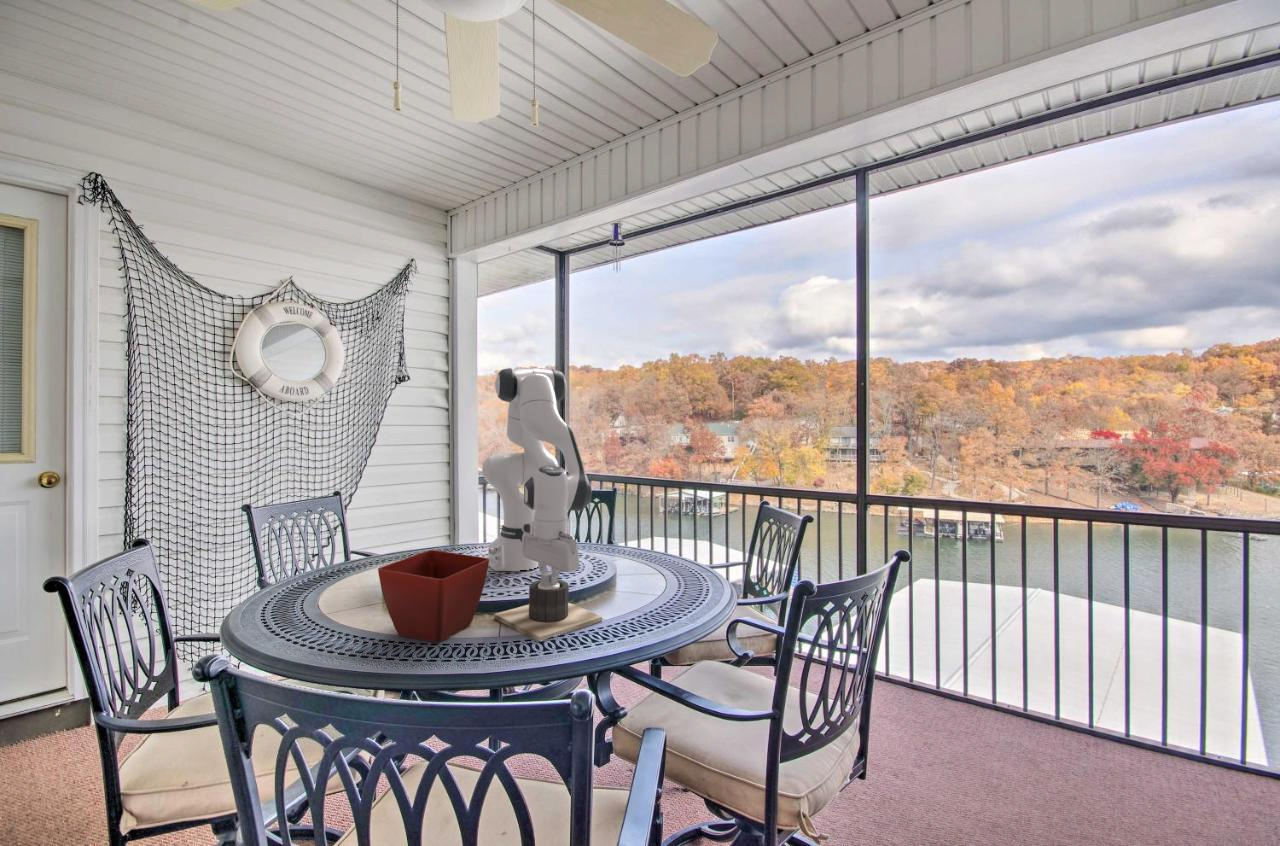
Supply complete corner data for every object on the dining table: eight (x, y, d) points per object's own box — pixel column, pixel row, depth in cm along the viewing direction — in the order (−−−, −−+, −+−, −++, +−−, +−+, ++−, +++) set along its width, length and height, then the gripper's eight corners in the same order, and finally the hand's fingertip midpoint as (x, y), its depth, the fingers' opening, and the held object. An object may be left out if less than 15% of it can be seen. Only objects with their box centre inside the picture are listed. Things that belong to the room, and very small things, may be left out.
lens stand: (494, 618, 153) (495, 583, 153) (555, 601, 168) (556, 569, 167) (539, 642, 139) (540, 604, 139) (602, 621, 154) (603, 586, 153)
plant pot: (440, 652, 132) (441, 578, 132) (374, 638, 139) (375, 568, 138) (490, 622, 150) (491, 558, 150) (429, 611, 157) (430, 549, 156)
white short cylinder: (546, 597, 149) (546, 578, 149) (533, 591, 153) (534, 573, 153) (563, 592, 153) (564, 573, 153) (550, 587, 157) (551, 569, 157)
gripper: (585, 534, 148) (584, 588, 148) (537, 521, 162) (536, 570, 162) (565, 538, 143) (564, 593, 144) (518, 524, 157) (517, 574, 158)
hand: (549, 581), depth 153 cm, fingers closed on white short cylinder
